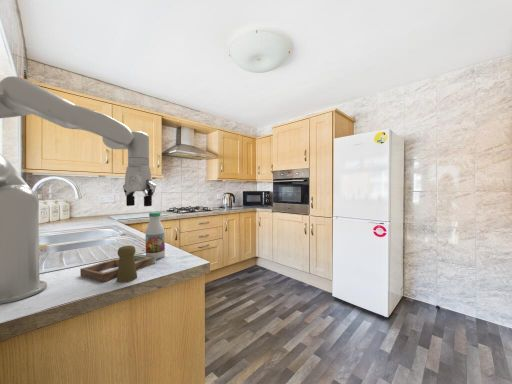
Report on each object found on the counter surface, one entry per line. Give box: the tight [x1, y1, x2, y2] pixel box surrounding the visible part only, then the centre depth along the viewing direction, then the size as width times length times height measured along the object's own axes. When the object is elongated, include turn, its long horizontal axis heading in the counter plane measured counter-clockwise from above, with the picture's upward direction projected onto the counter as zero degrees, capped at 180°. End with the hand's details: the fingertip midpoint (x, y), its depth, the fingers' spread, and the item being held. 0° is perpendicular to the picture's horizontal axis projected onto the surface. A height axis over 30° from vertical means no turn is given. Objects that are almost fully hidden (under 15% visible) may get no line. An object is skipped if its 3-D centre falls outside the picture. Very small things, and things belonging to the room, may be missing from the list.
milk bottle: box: [145, 211, 166, 260], centre depth 95 cm, size 8×8×20 cm
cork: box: [116, 245, 138, 283], centre depth 72 cm, size 6×6×11 cm
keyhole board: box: [79, 253, 156, 283], centre depth 81 cm, size 20×13×2 cm, turn 155°
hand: (139, 205), depth 86 cm, fingers open, 9 cm apart
